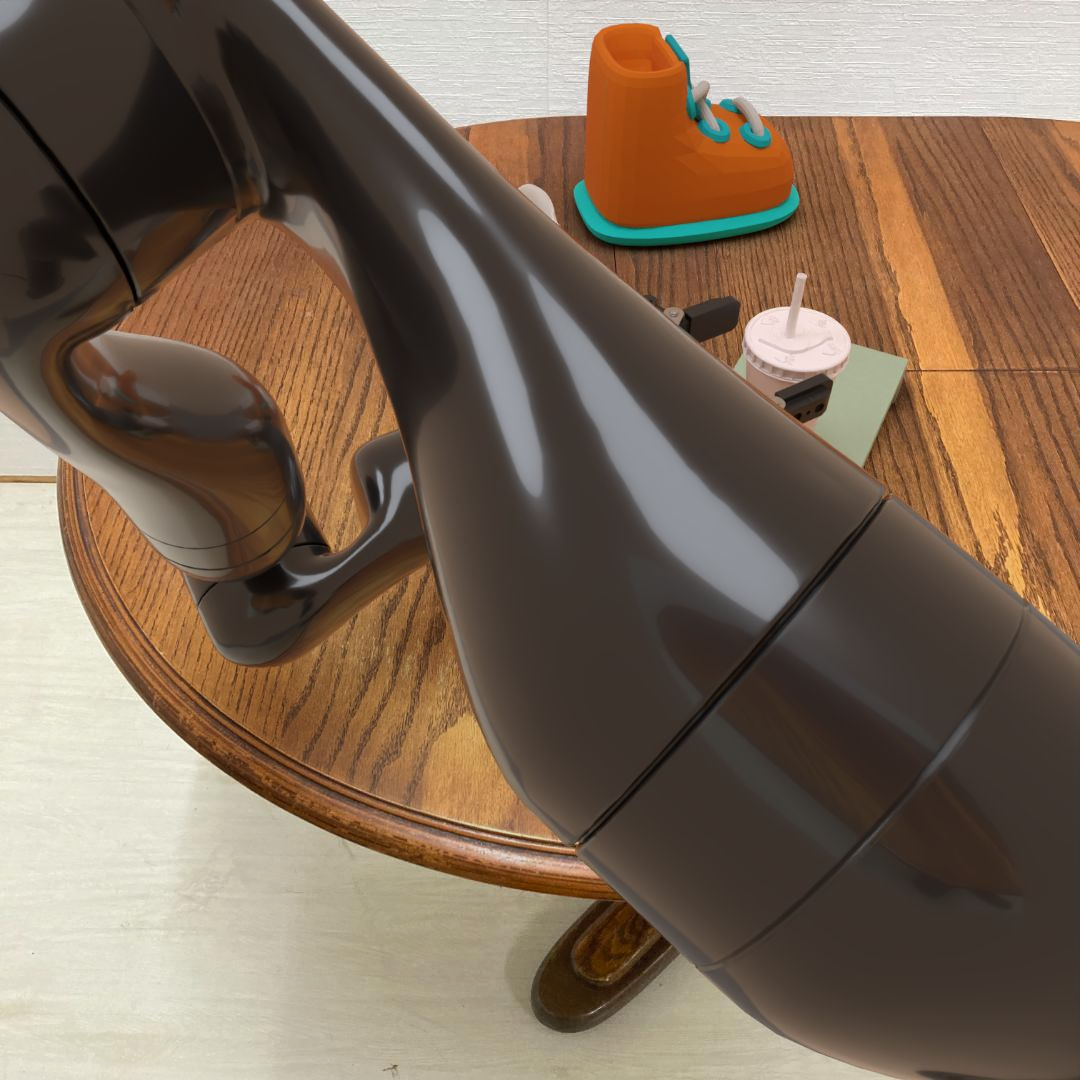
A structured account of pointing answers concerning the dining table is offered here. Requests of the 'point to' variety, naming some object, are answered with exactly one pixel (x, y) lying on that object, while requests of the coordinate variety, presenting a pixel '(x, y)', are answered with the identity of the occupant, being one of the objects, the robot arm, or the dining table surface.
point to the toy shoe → (673, 150)
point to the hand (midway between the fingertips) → (779, 348)
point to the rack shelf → (857, 400)
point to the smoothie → (793, 346)
